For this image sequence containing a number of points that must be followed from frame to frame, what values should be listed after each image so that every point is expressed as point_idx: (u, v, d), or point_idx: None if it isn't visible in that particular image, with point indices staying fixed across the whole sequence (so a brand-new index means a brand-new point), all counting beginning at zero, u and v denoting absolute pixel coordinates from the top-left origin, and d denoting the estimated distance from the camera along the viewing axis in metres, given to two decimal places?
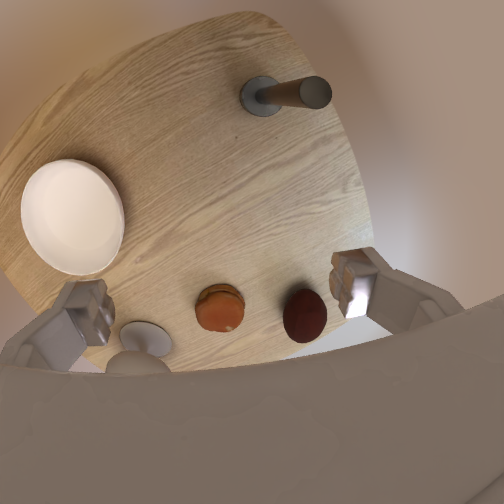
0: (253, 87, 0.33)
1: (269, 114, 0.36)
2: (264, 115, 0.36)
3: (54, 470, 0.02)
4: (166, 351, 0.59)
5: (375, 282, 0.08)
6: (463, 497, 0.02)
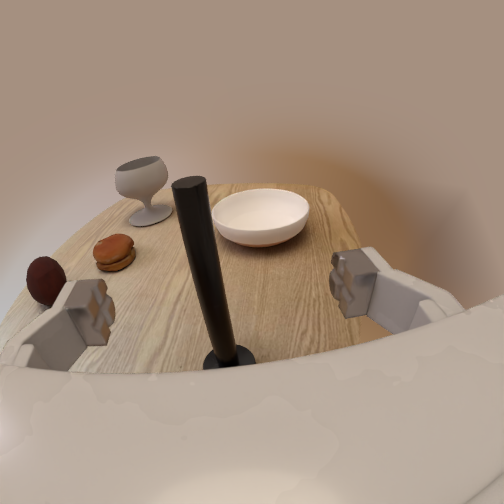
0: (244, 360, 0.30)
1: (206, 358, 0.31)
2: (209, 354, 0.31)
3: (54, 469, 0.02)
4: (131, 218, 0.71)
5: (375, 282, 0.08)
6: (463, 497, 0.02)
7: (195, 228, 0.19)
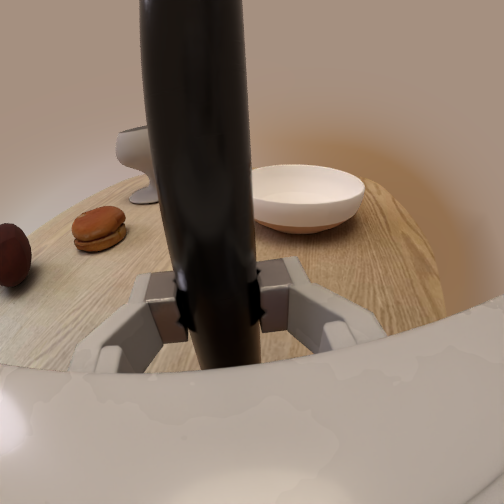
0: None
1: None
2: None
3: (54, 469, 0.02)
4: (132, 195, 0.57)
5: (289, 296, 0.08)
6: (463, 497, 0.02)
7: None
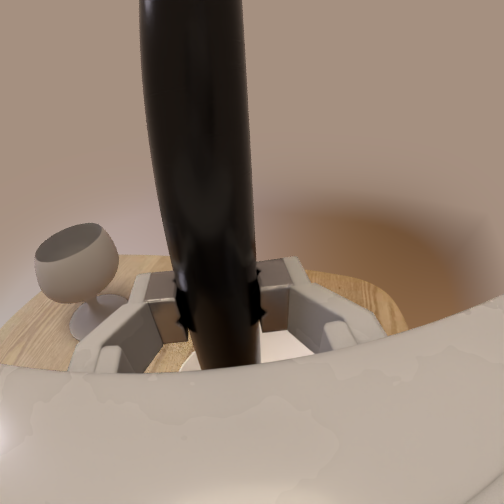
0: None
1: None
2: None
3: (54, 470, 0.02)
4: (72, 318, 0.41)
5: (289, 296, 0.08)
6: (463, 497, 0.02)
7: None
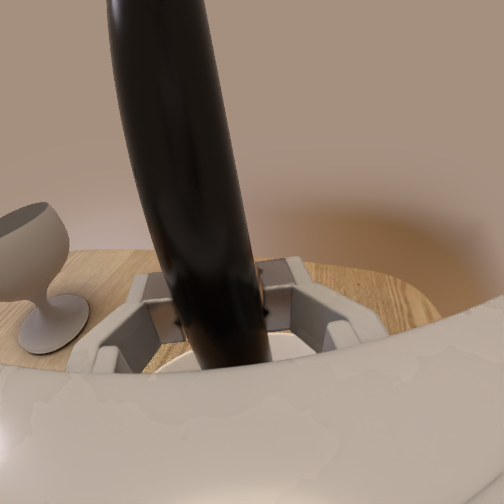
0: None
1: None
2: None
3: (54, 470, 0.02)
4: (23, 322, 0.29)
5: (292, 296, 0.08)
6: (463, 497, 0.02)
7: None
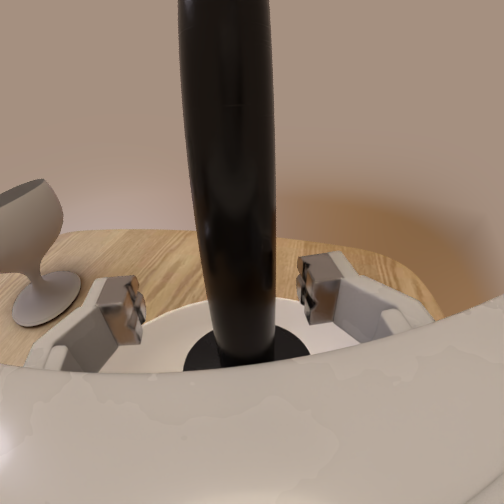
0: None
1: (198, 344, 0.13)
2: (207, 335, 0.14)
3: (54, 470, 0.02)
4: (17, 297, 0.29)
5: (339, 289, 0.08)
6: (463, 497, 0.02)
7: None
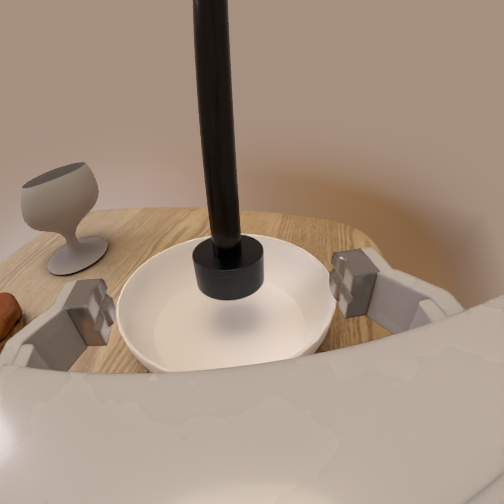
0: (249, 248, 0.24)
1: (201, 243, 0.25)
2: (206, 240, 0.25)
3: (54, 469, 0.02)
4: (52, 257, 0.41)
5: (375, 282, 0.08)
6: (463, 497, 0.02)
7: (208, 21, 0.13)
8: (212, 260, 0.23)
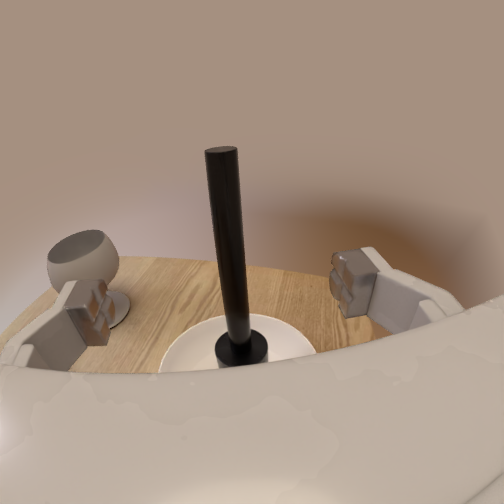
0: (257, 345, 0.30)
1: (220, 338, 0.32)
2: (224, 334, 0.32)
3: (54, 469, 0.02)
4: None
5: (375, 282, 0.08)
6: (463, 497, 0.02)
7: (222, 193, 0.20)
8: (230, 356, 0.29)
